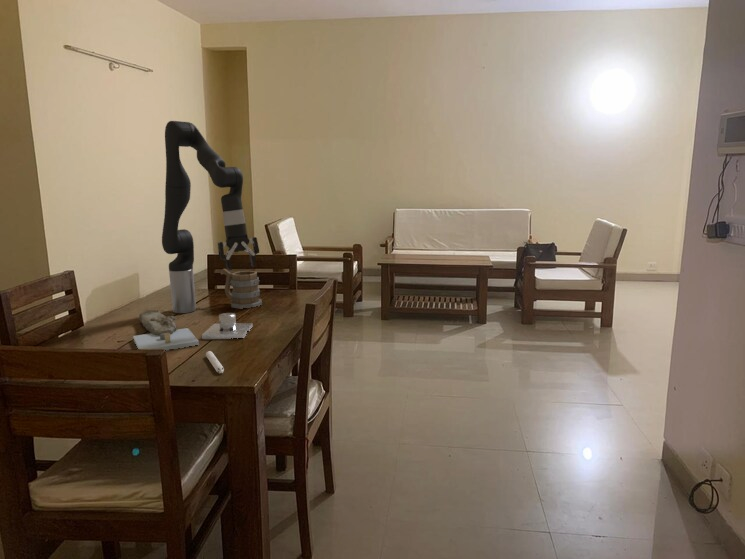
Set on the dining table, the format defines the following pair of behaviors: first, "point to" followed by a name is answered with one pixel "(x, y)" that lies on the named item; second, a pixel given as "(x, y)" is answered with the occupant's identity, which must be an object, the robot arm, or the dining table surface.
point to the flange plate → (227, 334)
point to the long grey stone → (157, 322)
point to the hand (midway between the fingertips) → (241, 268)
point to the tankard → (242, 288)
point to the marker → (215, 362)
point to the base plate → (160, 344)
